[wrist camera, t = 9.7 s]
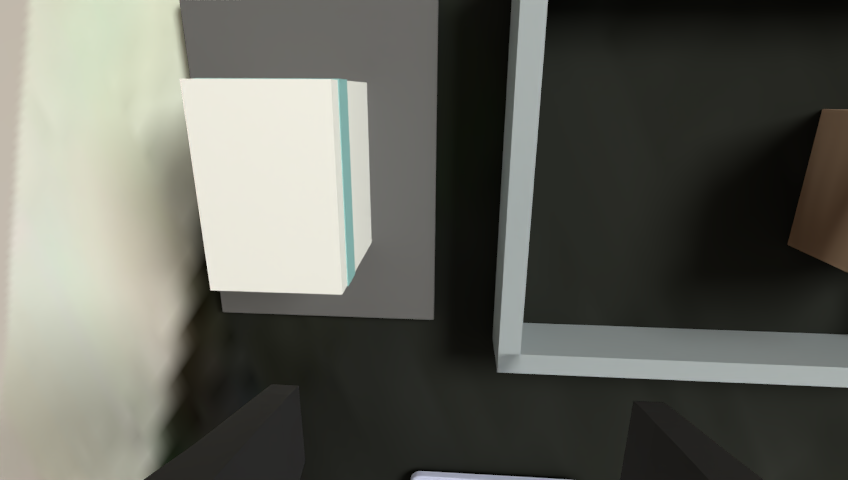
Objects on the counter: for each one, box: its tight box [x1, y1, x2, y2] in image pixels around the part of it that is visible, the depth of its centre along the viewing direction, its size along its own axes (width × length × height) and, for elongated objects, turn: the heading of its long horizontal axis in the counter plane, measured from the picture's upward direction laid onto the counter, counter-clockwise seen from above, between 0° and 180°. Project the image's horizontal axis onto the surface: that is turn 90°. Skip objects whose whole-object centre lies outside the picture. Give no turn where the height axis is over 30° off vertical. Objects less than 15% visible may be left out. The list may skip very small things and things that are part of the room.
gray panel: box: [180, 0, 438, 320], centre depth 18 cm, size 12×9×1 cm
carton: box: [180, 78, 372, 295], centre depth 15 cm, size 4×6×5 cm
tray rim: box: [492, 0, 848, 387], centre depth 16 cm, size 14×17×2 cm
